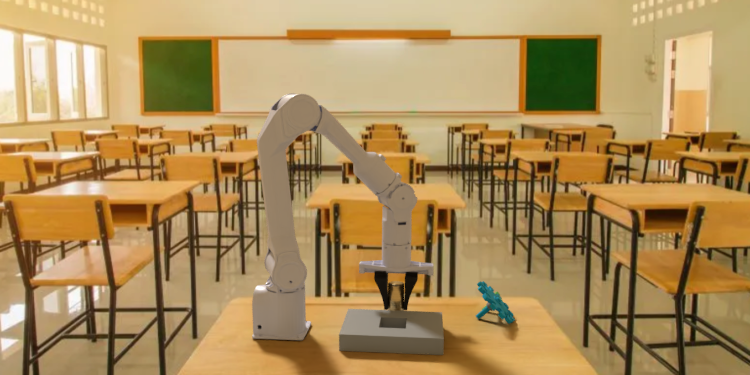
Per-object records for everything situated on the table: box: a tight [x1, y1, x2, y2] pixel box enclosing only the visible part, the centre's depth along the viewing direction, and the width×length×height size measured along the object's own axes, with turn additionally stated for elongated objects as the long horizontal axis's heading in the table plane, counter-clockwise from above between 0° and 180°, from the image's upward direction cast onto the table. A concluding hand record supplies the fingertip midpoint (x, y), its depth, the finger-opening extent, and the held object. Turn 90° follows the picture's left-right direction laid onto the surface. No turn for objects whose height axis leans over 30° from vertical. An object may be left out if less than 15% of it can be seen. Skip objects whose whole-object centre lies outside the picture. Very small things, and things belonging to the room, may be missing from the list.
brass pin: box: [388, 280, 405, 311], centre depth 116 cm, size 3×3×7 cm
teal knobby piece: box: [475, 281, 516, 325], centre depth 116 cm, size 11×6×10 cm
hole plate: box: [338, 308, 445, 356], centre depth 107 cm, size 18×12×3 cm, turn 85°
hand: (395, 308), depth 117 cm, fingers closed on brass pin, 3 cm apart
